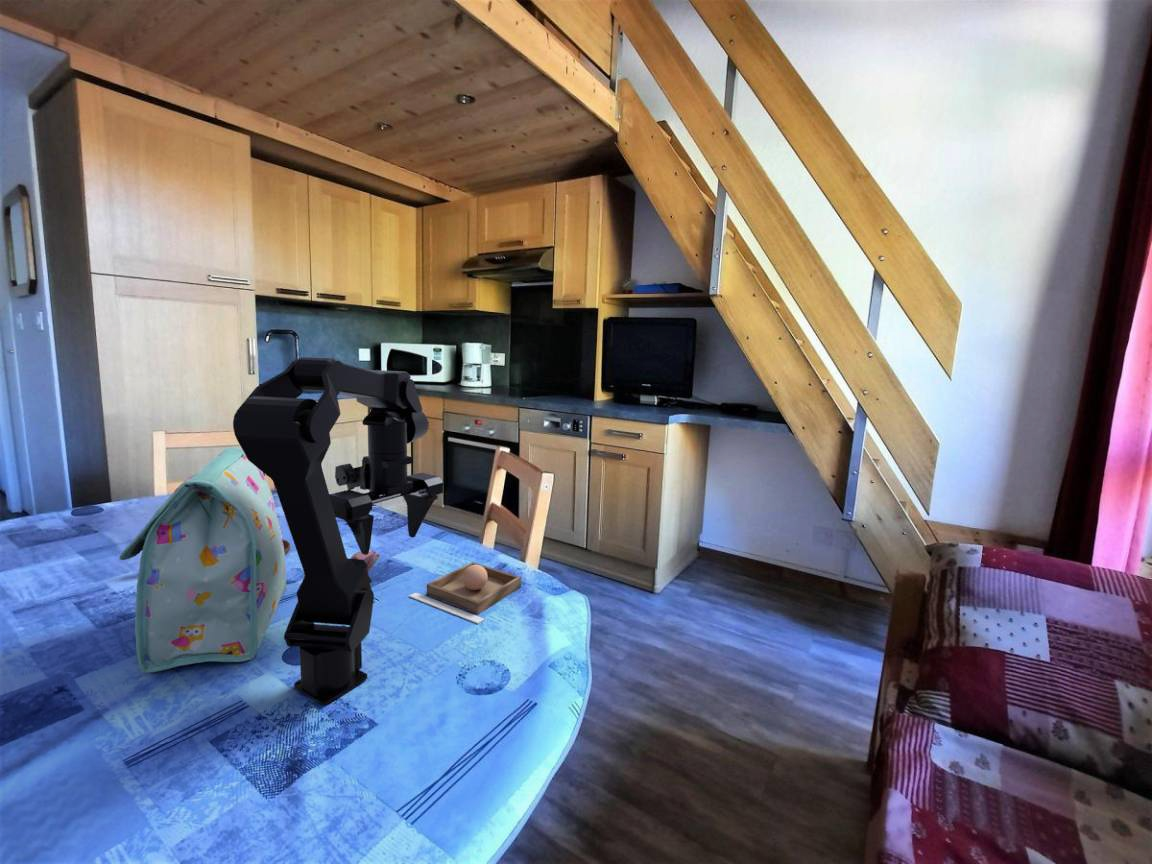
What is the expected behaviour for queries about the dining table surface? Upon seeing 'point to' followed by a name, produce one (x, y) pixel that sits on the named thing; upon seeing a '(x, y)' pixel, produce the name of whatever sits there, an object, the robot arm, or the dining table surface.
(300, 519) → the robot arm
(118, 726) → the dining table surface
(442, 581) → the tray
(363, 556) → the video game controller
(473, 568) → the ball
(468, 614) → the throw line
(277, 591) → the lunch bag
